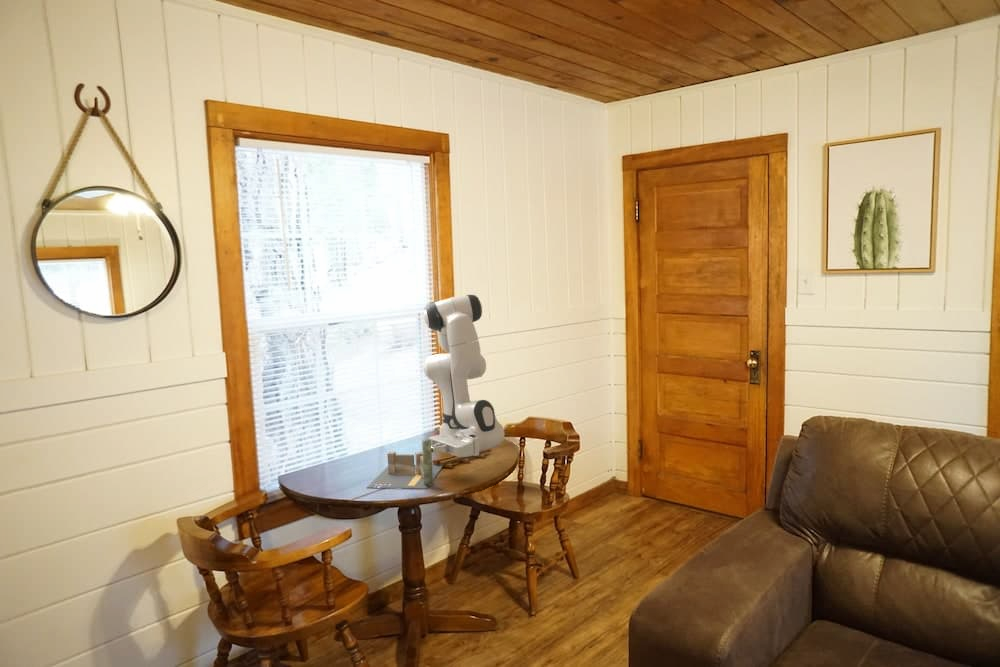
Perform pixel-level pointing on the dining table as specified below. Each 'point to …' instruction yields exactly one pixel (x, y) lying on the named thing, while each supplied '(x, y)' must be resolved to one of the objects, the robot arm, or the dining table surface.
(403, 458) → the fixed fence section
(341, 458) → the dining table surface
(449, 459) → the decorative fence
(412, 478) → the board
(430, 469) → the swinging fence section
